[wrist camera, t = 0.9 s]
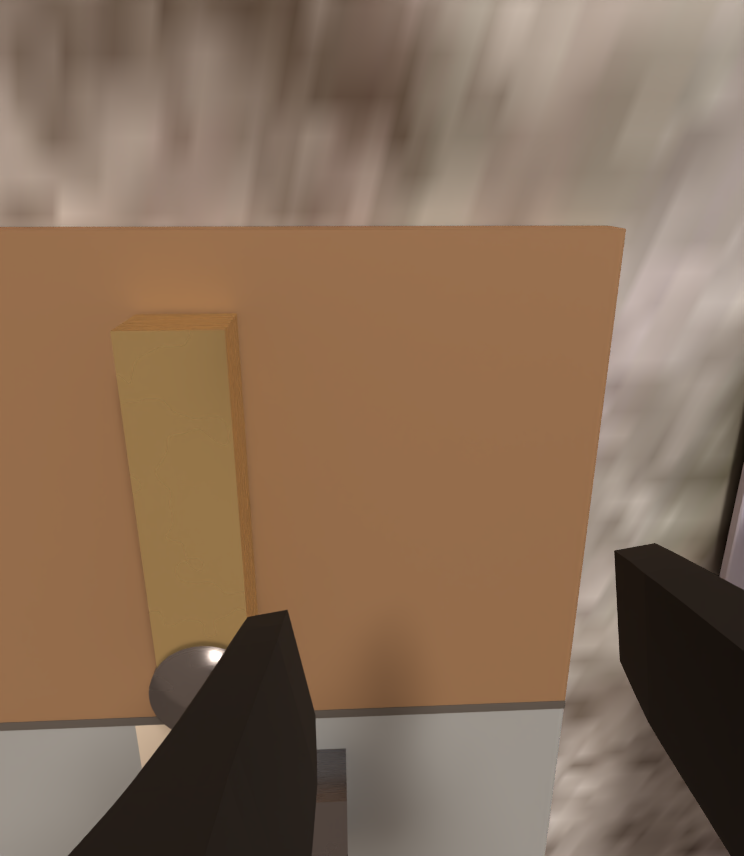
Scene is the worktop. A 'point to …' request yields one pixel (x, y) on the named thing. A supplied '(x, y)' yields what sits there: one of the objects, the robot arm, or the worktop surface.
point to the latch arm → (187, 491)
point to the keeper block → (331, 804)
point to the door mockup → (316, 508)
